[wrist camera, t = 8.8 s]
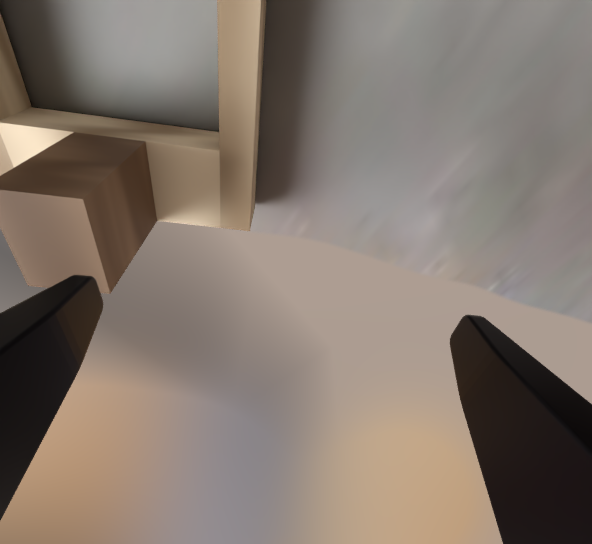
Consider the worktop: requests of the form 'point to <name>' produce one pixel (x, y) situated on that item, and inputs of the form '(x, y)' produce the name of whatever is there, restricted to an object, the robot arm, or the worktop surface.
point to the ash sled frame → (126, 166)
